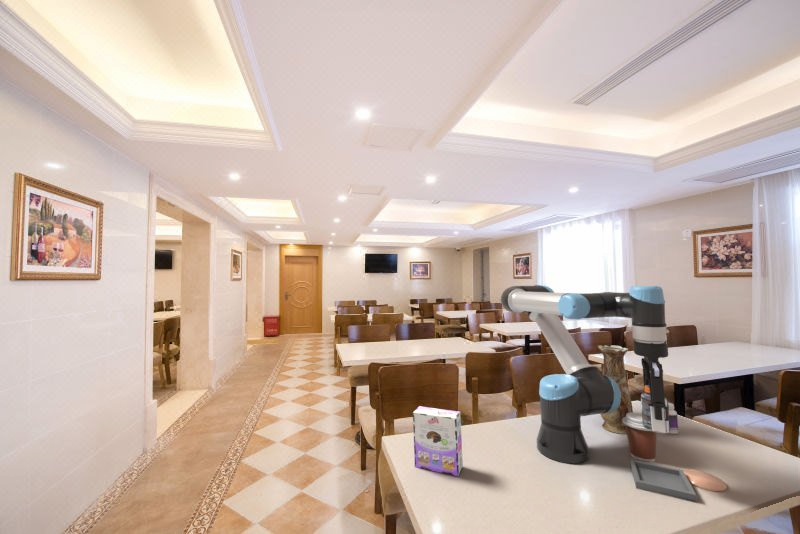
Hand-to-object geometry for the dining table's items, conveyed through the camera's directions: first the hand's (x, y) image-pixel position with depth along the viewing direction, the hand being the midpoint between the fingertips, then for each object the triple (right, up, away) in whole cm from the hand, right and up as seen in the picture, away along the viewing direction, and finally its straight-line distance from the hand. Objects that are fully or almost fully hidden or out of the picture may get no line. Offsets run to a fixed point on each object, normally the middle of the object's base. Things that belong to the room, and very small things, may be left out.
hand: (655, 426), depth 86 cm
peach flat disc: (+12, -14, -1) cm, 19 cm away
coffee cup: (+5, -16, +12) cm, 20 cm away
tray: (0, -15, -1) cm, 15 cm away
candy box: (-59, -17, +9) cm, 62 cm away
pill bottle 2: (+28, -16, +28) cm, 42 cm away
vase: (+11, -17, +31) cm, 37 cm away
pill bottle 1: (0, -1, 0) cm, 1 cm away
